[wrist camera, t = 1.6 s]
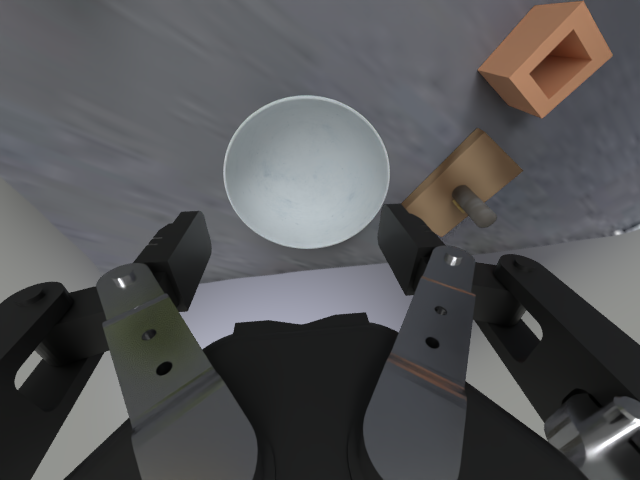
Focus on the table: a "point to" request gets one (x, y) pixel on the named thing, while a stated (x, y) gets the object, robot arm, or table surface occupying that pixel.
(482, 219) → the shaft block
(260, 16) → the table surface
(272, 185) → the chinaware
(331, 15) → the table surface
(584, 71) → the orange hollow square block
